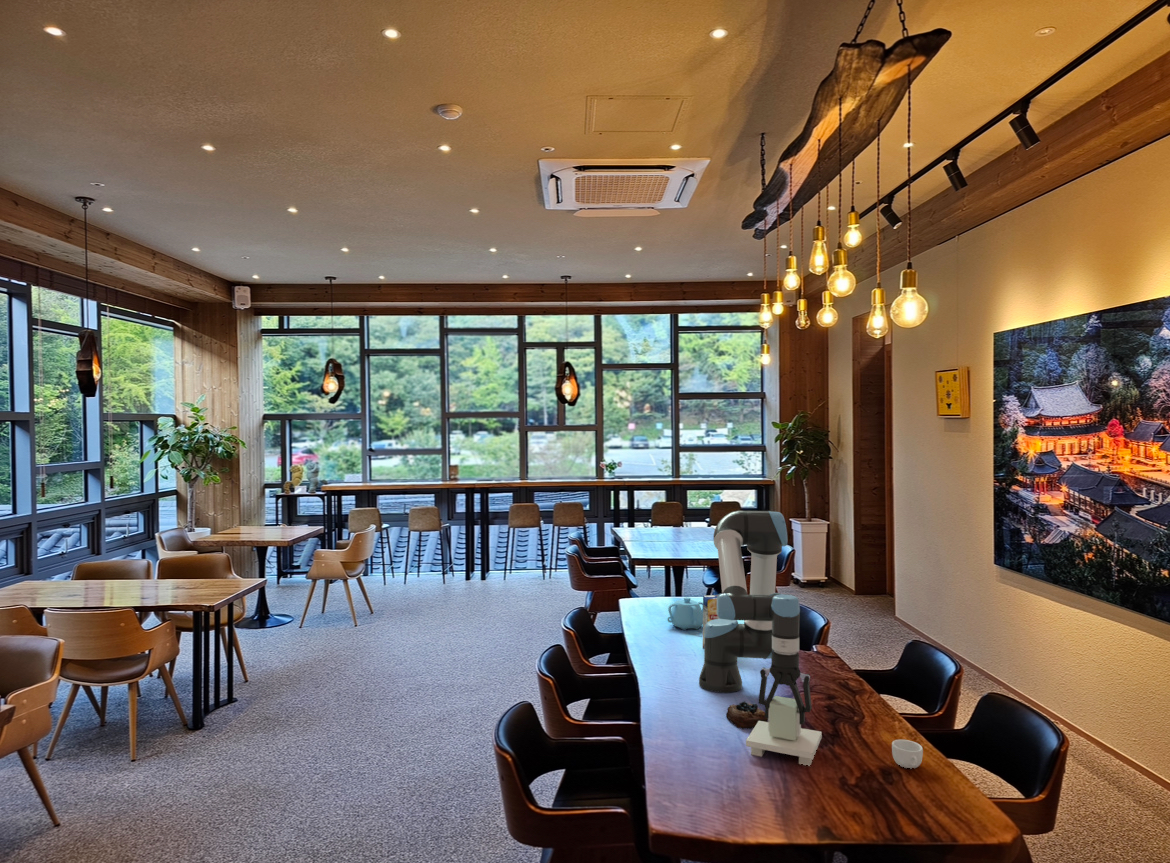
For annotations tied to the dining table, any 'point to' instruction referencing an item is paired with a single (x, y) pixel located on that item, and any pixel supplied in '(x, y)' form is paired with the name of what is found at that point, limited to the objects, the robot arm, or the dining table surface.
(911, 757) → the teacup
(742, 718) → the pastry
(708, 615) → the beverage box
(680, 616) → the decorative pot
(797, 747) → the serving stand
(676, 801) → the dining table surface
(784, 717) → the sage block
